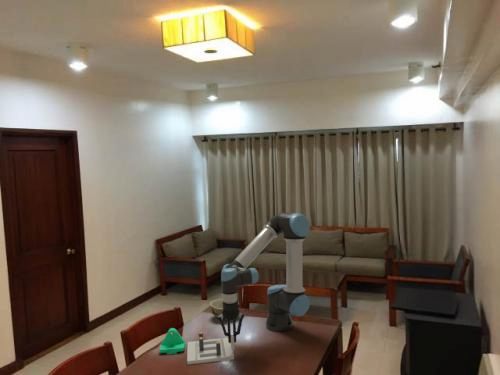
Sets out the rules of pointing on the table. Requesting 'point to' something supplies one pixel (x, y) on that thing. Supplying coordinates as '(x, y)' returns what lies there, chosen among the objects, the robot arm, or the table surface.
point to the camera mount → (172, 342)
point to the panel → (209, 351)
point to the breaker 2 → (218, 347)
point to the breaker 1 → (201, 343)
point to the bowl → (217, 307)
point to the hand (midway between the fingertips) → (232, 349)
